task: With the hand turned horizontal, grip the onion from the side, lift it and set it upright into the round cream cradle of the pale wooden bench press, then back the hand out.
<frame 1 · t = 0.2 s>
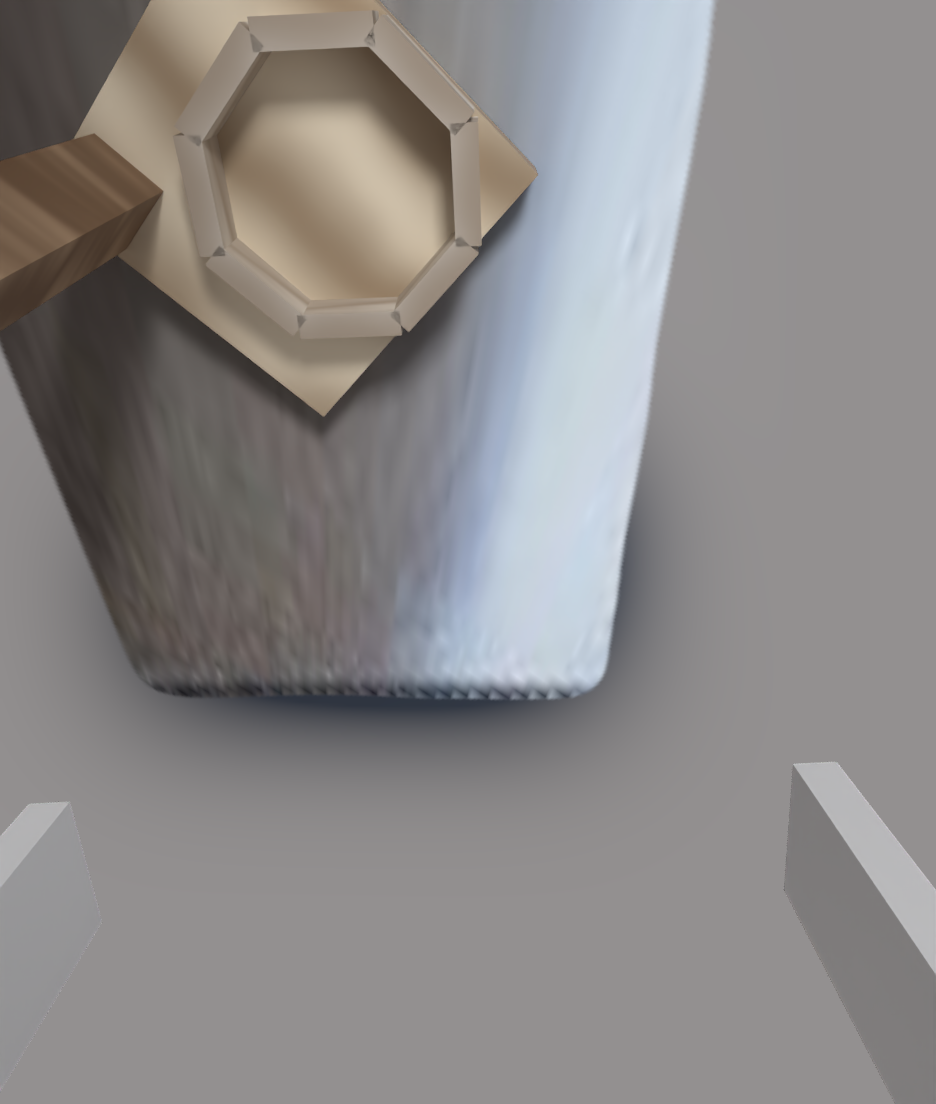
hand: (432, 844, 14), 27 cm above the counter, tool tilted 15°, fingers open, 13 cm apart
press: (296, 177, 32), on the counter
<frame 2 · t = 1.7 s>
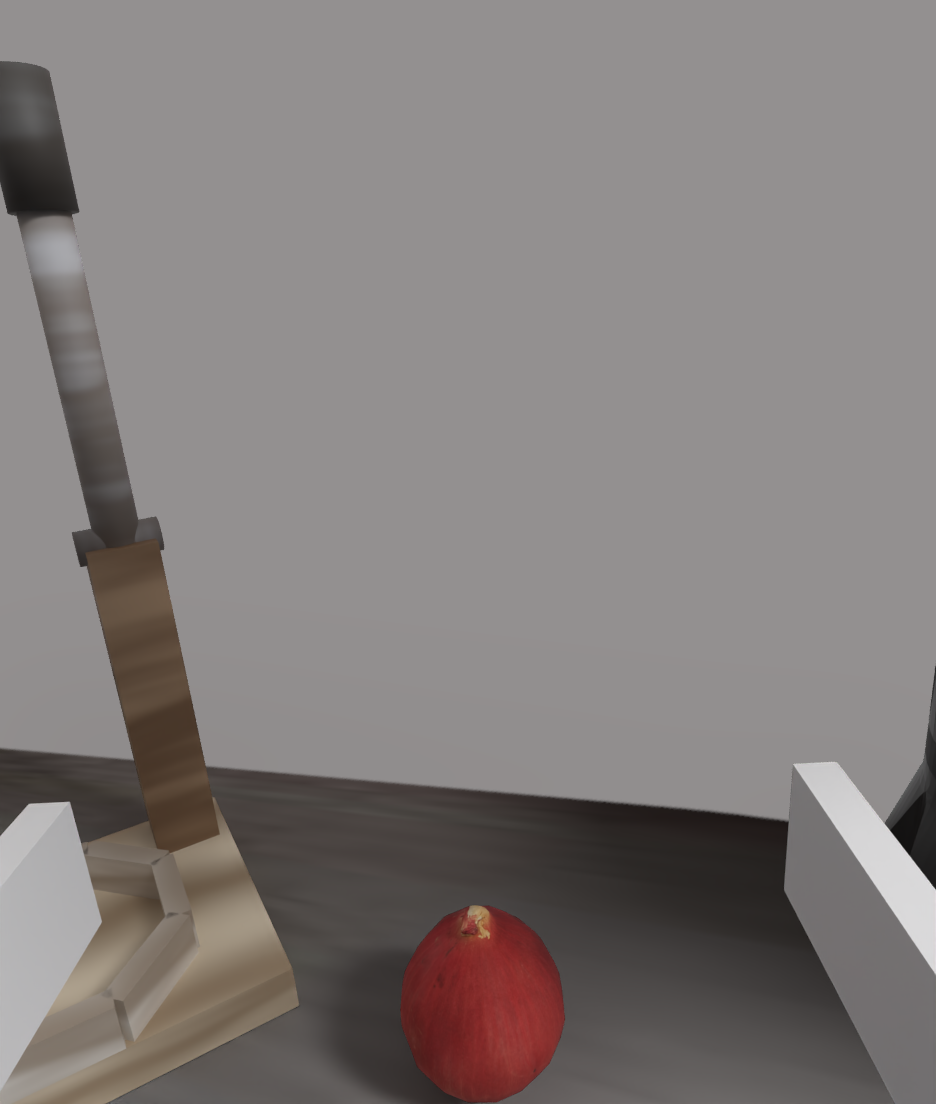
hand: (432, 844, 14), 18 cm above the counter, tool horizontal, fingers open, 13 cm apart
onion: (489, 1080, 29), on the counter
press: (100, 968, 35), on the counter
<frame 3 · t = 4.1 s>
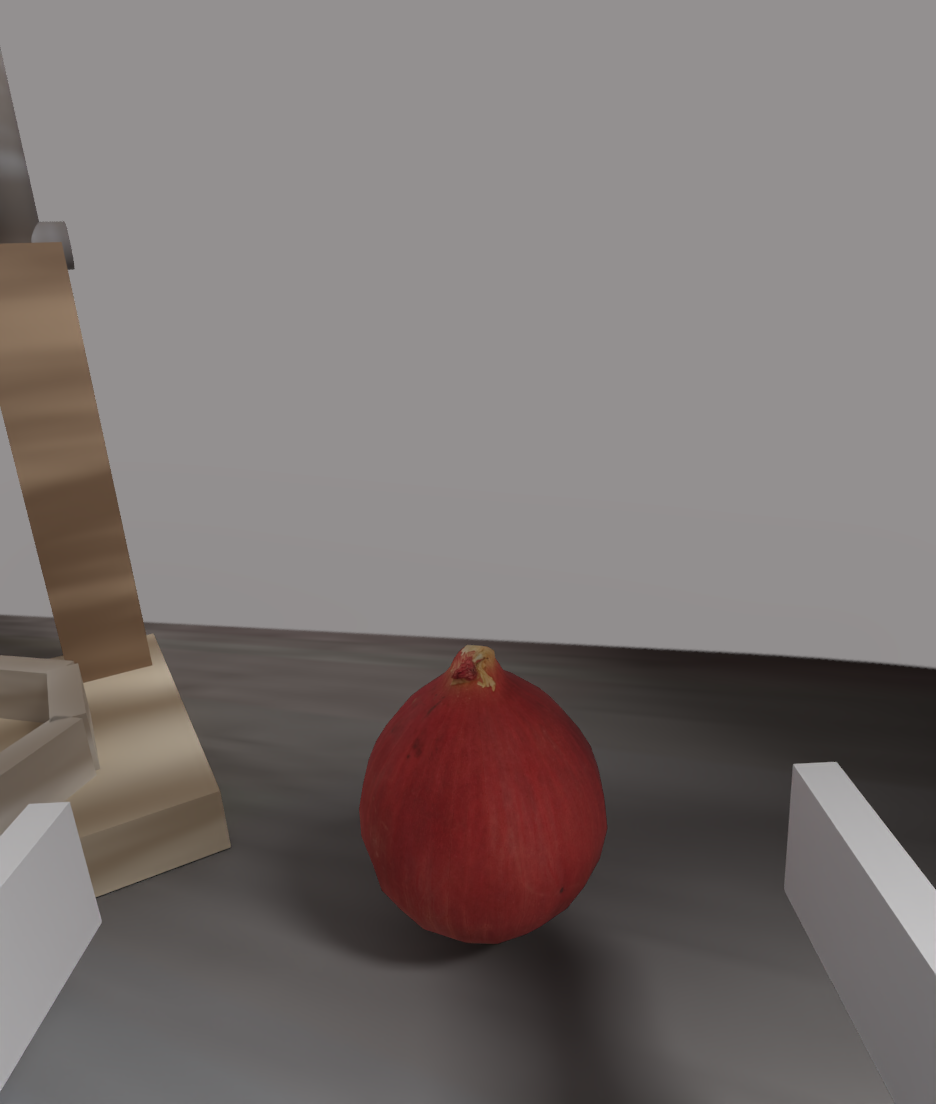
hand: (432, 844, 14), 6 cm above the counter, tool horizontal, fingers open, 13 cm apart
onion: (491, 935, 20), on the counter
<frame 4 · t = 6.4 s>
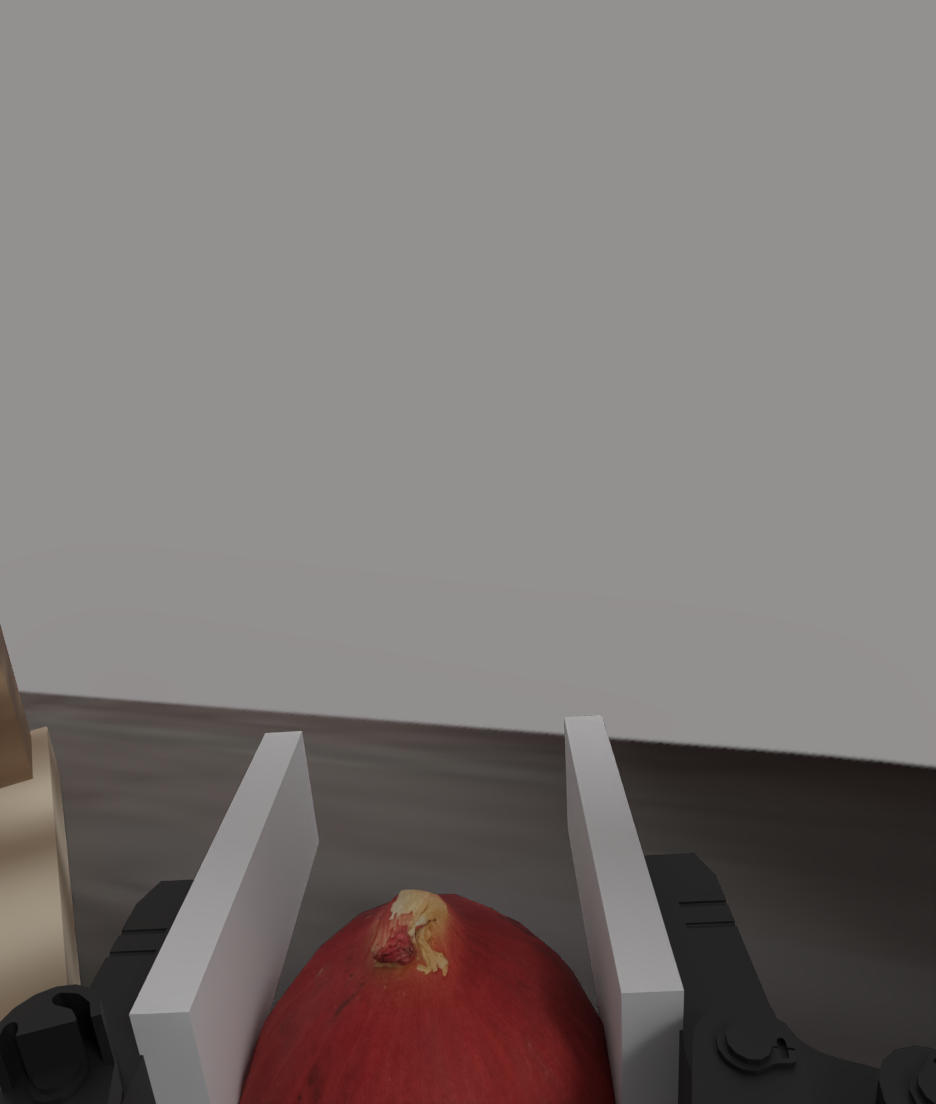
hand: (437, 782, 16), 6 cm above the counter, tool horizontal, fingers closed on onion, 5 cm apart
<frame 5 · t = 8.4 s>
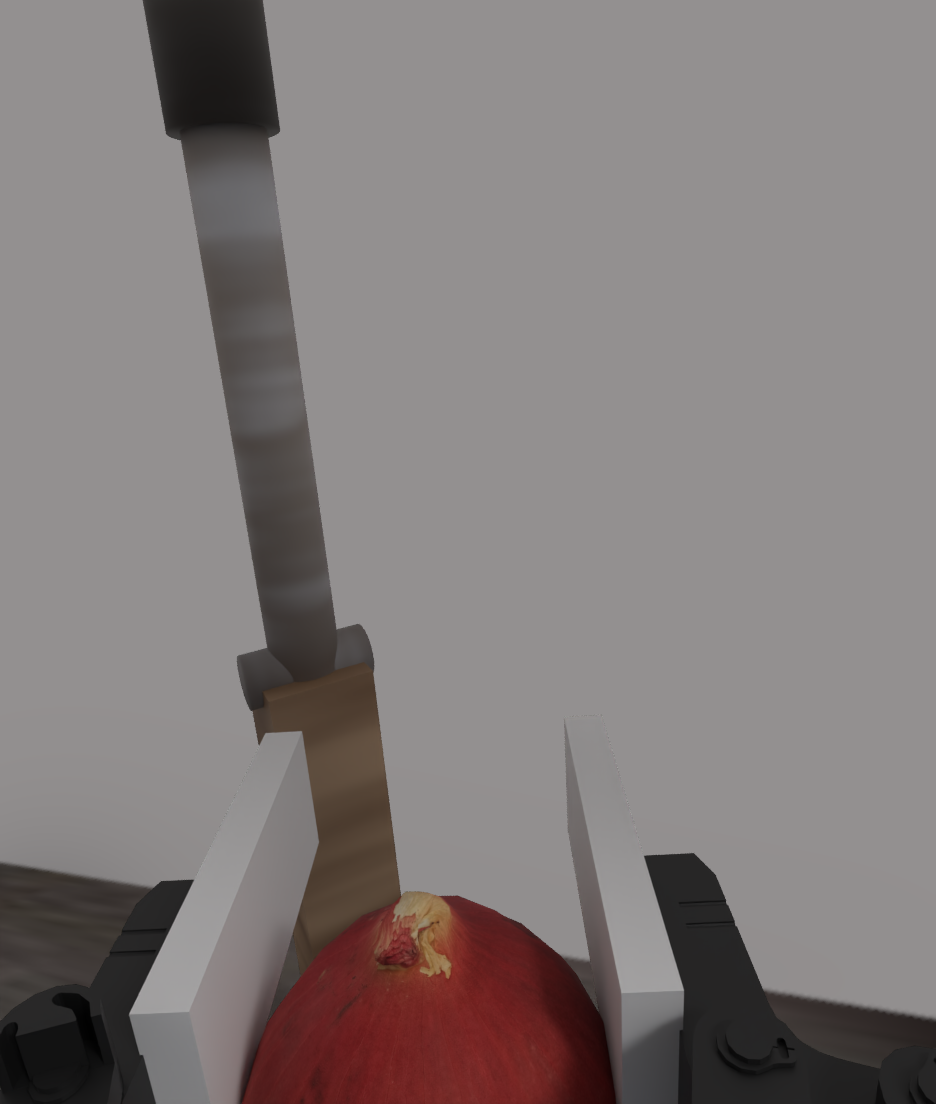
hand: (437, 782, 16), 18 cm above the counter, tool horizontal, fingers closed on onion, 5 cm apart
when the fingers open (9 cm above the counter, at t = 10.8 s): onion drops 1 cm, resting on press.
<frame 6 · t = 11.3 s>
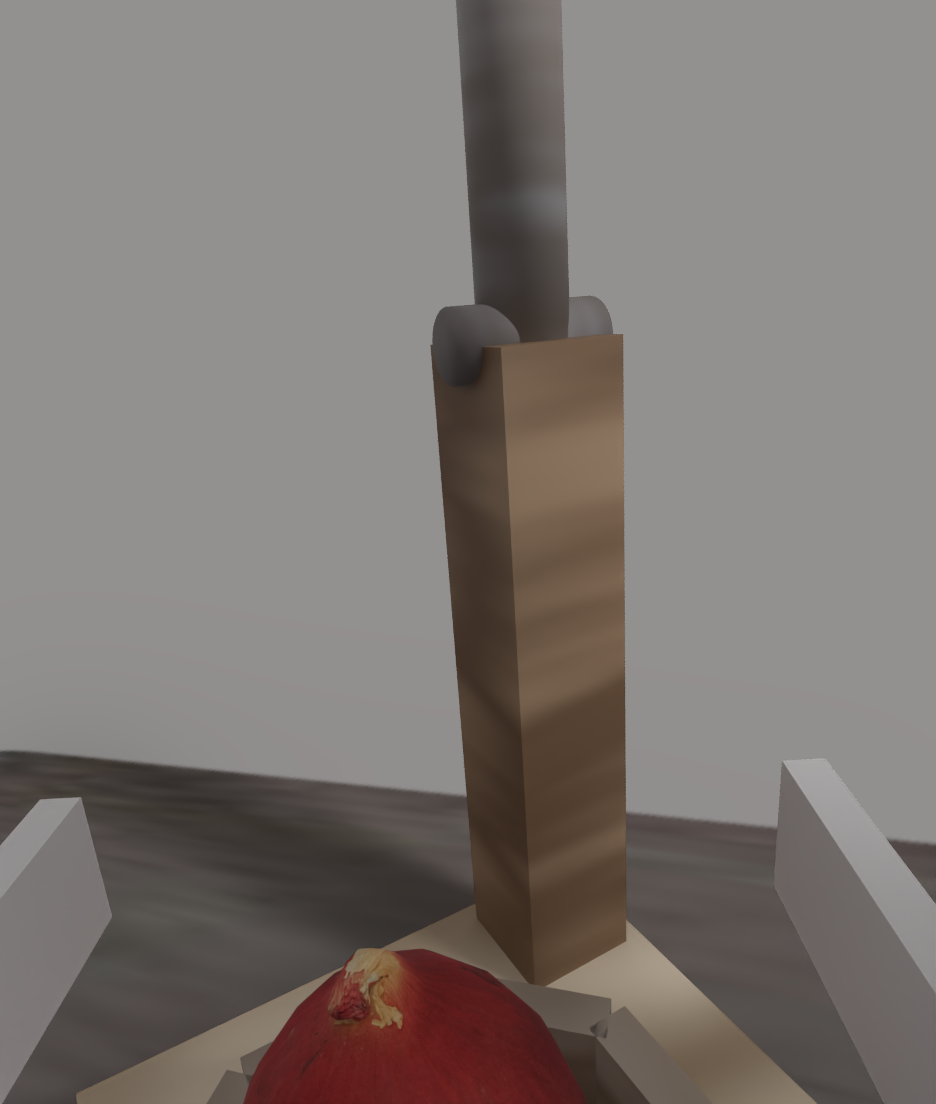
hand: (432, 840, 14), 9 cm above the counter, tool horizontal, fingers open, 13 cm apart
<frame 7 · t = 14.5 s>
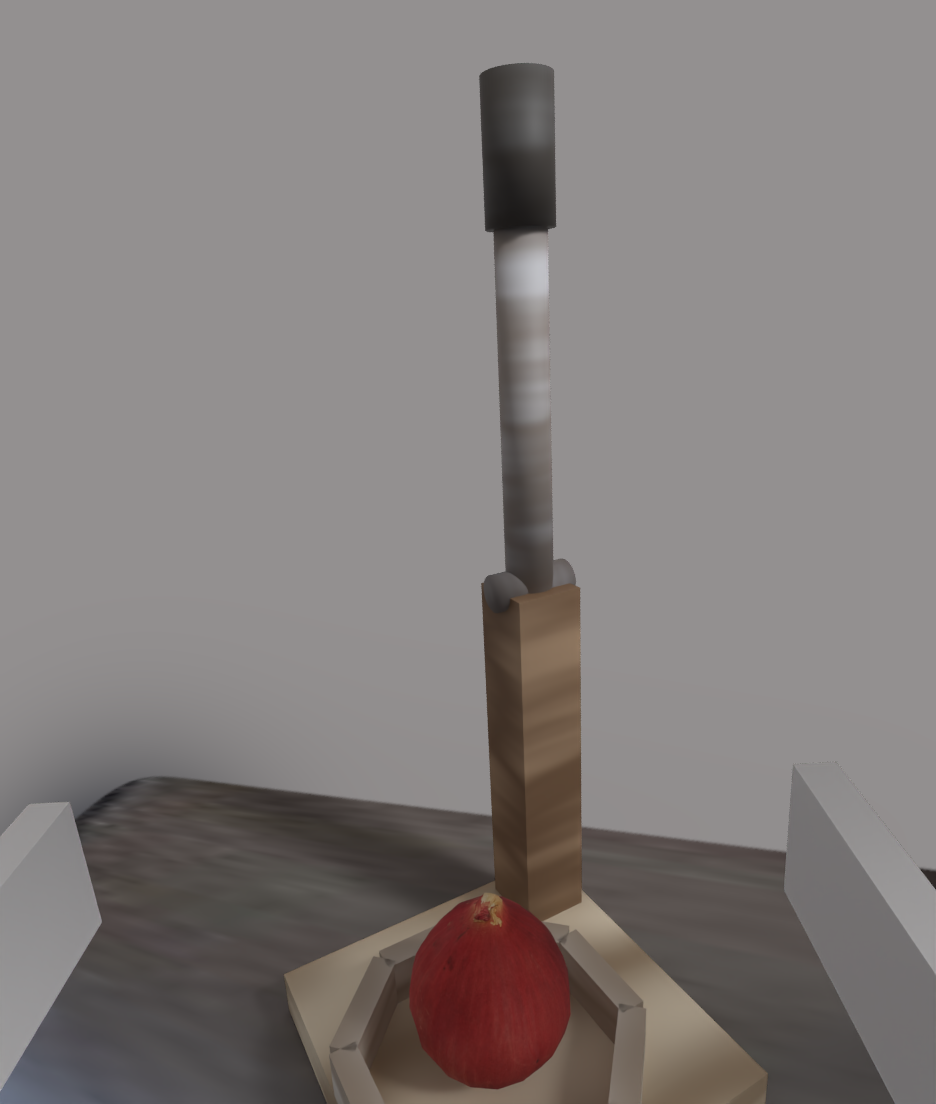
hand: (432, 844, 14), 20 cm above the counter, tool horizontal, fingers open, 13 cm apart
onion: (491, 1071, 29), point 2 cm above the counter, touching press
press: (506, 1057, 32), on the counter
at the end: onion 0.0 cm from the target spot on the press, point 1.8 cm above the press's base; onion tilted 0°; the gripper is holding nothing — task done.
